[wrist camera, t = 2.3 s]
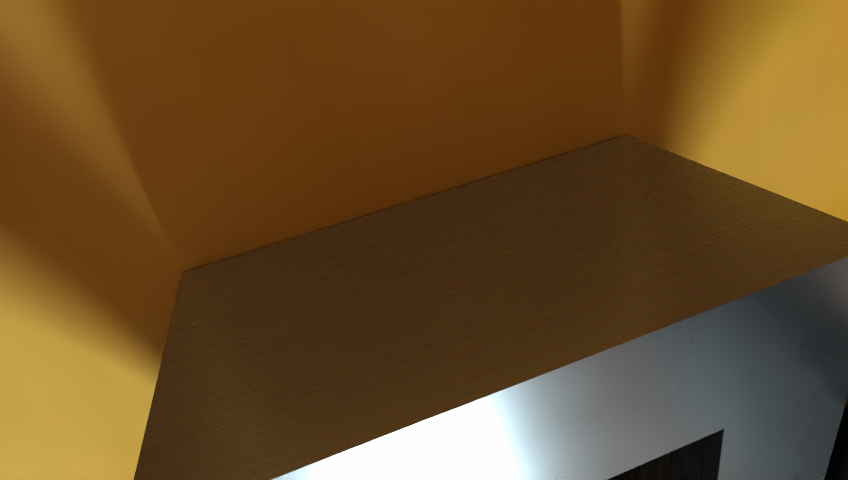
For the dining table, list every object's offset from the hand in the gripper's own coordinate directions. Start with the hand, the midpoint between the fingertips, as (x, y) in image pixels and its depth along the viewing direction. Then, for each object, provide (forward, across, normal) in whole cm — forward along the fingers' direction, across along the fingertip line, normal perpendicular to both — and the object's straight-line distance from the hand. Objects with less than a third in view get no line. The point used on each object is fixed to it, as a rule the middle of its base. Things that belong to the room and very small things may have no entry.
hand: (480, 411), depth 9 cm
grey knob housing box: (+1, 0, 0) cm, 1 cm away
